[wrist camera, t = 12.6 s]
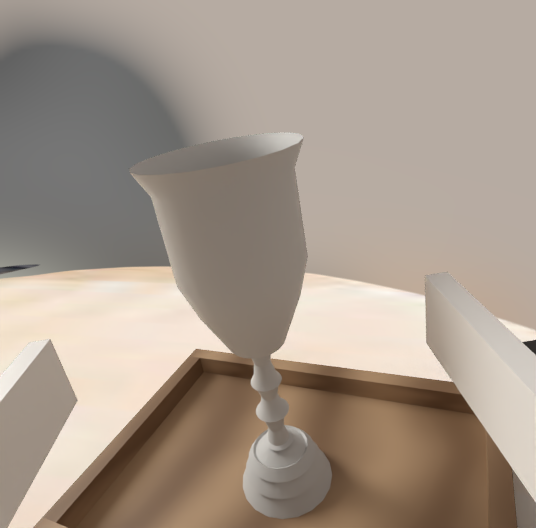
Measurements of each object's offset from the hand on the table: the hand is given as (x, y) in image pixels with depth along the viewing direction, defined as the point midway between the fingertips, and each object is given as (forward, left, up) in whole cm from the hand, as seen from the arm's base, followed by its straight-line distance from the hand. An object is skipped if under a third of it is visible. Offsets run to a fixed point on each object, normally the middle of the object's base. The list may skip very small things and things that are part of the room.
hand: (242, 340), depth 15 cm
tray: (-2, +4, -13) cm, 14 cm away
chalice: (-2, +4, -12) cm, 13 cm away
